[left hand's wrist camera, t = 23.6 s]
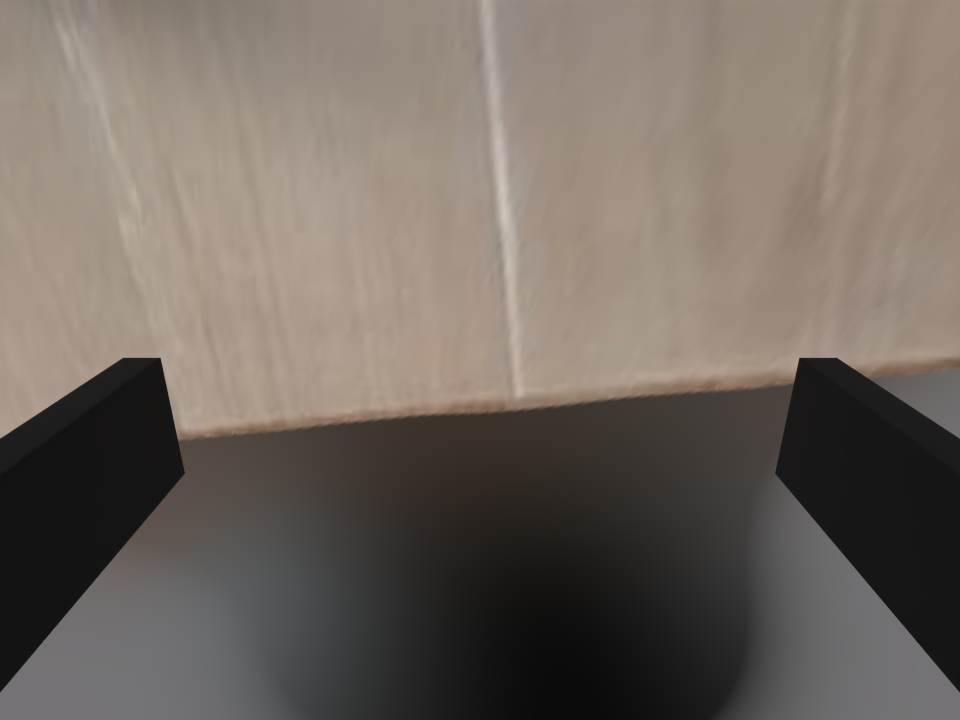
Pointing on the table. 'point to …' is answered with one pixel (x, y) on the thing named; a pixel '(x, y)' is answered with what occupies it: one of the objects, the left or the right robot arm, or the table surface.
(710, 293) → the table surface
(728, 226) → the table surface
